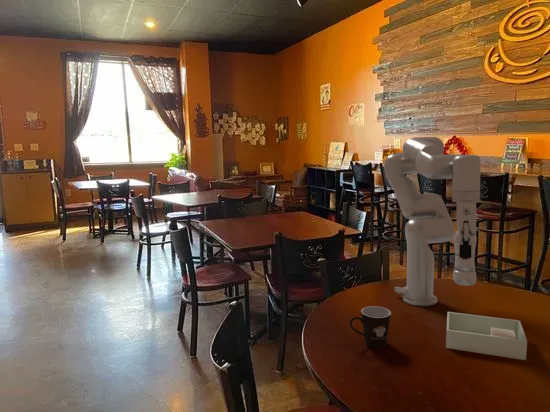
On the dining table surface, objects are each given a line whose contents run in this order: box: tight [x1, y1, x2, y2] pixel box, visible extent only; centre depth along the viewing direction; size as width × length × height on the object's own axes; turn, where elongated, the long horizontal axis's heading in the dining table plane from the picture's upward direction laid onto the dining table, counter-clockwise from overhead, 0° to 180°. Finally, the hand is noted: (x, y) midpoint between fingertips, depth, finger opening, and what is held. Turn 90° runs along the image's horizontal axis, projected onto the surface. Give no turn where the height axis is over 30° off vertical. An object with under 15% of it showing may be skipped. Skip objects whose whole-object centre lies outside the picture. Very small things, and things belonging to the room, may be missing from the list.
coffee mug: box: [349, 305, 392, 349], centre depth 125 cm, size 12×9×10 cm
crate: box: [445, 311, 528, 361], centre depth 122 cm, size 20×14×6 cm
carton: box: [490, 327, 516, 339], centre depth 120 cm, size 6×5×4 cm
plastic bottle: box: [452, 222, 477, 287], centre depth 127 cm, size 6×7×20 cm
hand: (464, 254), depth 127 cm, fingers closed on plastic bottle, 6 cm apart
